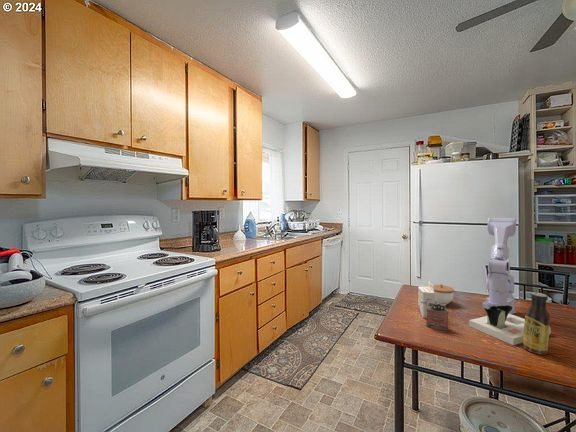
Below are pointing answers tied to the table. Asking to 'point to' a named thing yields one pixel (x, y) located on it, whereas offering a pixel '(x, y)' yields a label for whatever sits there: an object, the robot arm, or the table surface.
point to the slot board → (508, 334)
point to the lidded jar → (443, 294)
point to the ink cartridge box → (425, 298)
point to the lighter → (437, 316)
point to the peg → (499, 320)
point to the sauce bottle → (537, 325)
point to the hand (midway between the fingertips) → (497, 323)
